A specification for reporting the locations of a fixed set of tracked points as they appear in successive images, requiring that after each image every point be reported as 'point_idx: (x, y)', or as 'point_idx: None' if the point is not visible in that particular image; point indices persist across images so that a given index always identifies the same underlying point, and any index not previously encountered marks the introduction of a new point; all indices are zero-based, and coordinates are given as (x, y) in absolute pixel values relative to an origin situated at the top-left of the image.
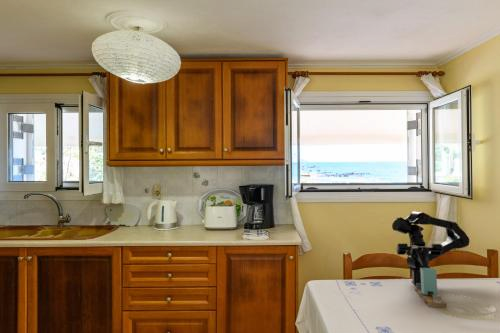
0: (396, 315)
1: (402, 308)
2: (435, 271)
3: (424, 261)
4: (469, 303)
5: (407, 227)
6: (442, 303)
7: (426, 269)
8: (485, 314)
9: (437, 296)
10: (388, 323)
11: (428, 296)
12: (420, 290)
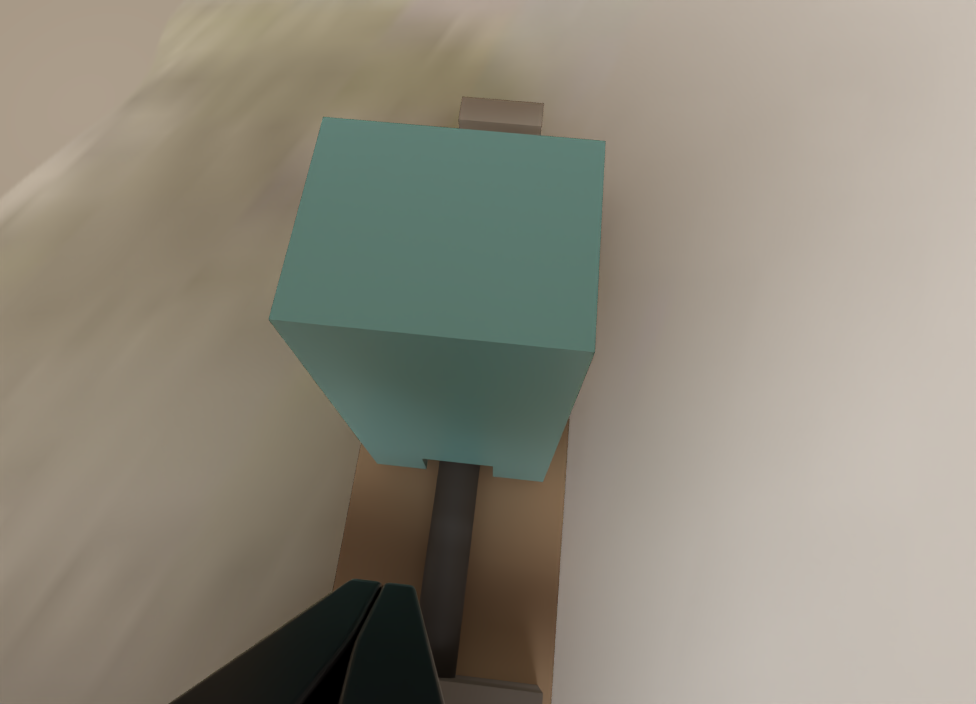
0: (904, 25)
1: (836, 149)
2: (345, 133)
3: (318, 627)
4: (115, 298)
5: None
6: None
7: (506, 187)
8: (180, 73)
9: (503, 101)
10: None
11: None
12: (520, 575)
